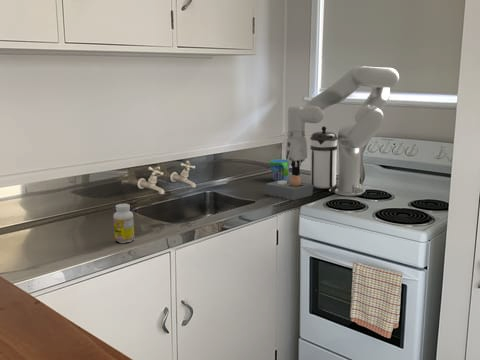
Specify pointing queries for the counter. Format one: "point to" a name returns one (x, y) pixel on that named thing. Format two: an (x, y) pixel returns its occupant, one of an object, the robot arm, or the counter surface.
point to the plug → (282, 182)
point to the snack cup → (279, 169)
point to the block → (289, 190)
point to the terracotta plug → (296, 181)
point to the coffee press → (323, 159)
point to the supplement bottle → (123, 222)
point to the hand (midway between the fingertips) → (295, 175)
